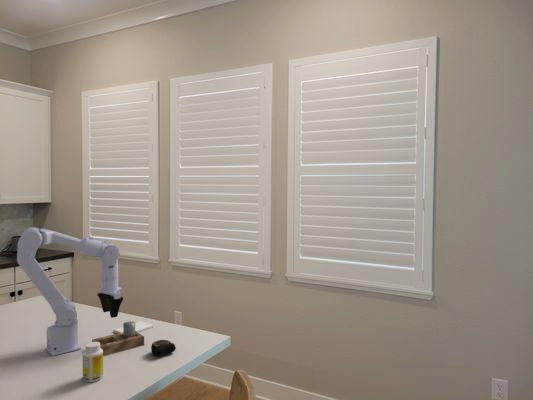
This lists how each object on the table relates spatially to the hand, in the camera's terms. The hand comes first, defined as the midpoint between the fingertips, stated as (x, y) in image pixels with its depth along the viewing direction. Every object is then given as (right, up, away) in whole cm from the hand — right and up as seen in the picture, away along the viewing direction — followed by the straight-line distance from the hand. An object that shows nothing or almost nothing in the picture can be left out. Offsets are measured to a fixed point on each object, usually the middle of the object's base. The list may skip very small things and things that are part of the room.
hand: (110, 314), depth 146 cm
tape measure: (+22, -11, -10) cm, 26 cm away
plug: (+8, -10, -2) cm, 12 cm away
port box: (+5, -10, -4) cm, 12 cm away
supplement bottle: (+6, -11, -28) cm, 30 cm away
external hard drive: (+4, -10, +12) cm, 17 cm away
